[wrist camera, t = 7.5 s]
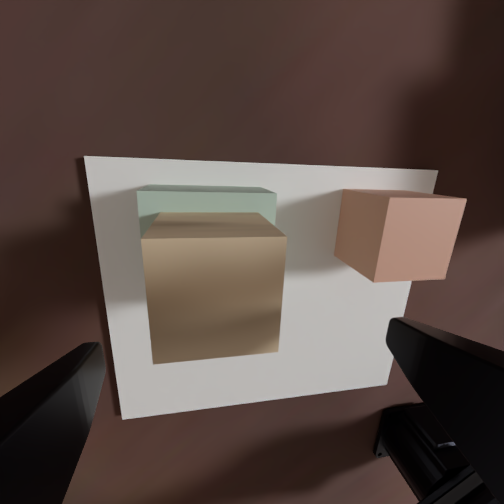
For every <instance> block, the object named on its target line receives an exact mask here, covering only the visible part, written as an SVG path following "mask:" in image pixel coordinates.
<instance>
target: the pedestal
mask: <svg viewBox="0 0 504 504" xmlns="http://www.w3.org/2000/svg"><path fill="white" fill-rule="evenodd" d="M136 192H137V203H138V213H139V224H140V235H141V238H142V237H143V235H144V234H145V233H146V231H147V230H148V228H149V227H150V226H151V224H152V223H153V221H154V220H155V219H156V217H157V216H158V215H159V213H160V212H258V213H260V214H261V215H262V216H263V217H264V218H266V219H267V220H268V221H269V222H270V223H272V224H273V225H274V226H275V217H276V202H277V193H275V192H272V191H270V190H267V189H265V188H262V187H245V186H202V185H159V184H149V185H147V186H145V187H143V188H141V189H139V190H137V191H136ZM142 257H143V256H142ZM144 278H145V277H144ZM145 289H146V288H145ZM146 300H147V298H146ZM147 311H148V309H147Z"/></svg>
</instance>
